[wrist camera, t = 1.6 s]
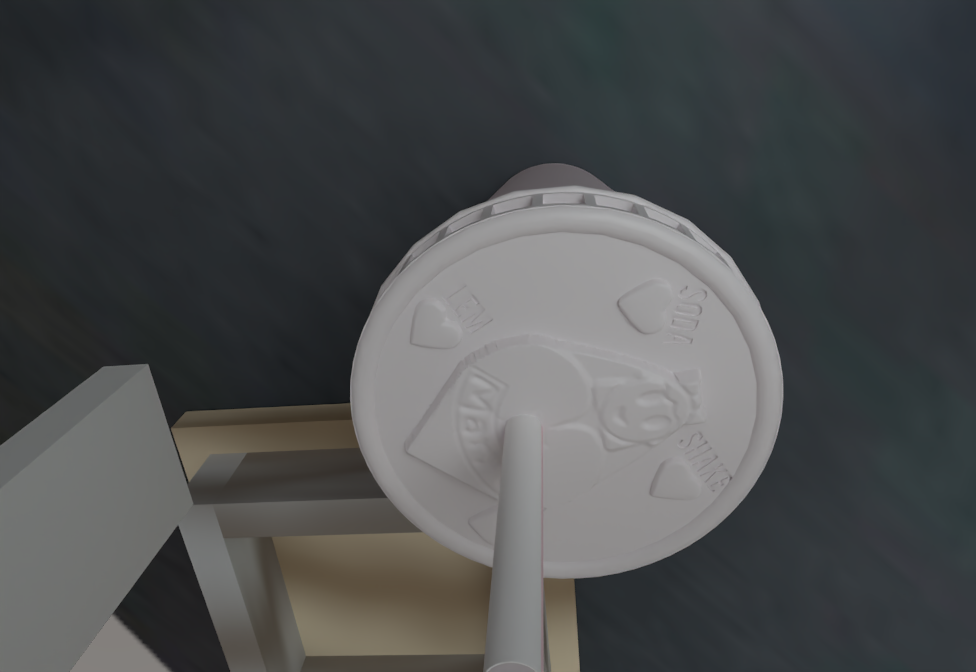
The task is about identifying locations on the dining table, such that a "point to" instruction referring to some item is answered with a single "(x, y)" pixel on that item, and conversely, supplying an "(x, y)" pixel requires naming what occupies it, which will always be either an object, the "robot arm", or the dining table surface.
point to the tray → (330, 555)
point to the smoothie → (564, 390)
